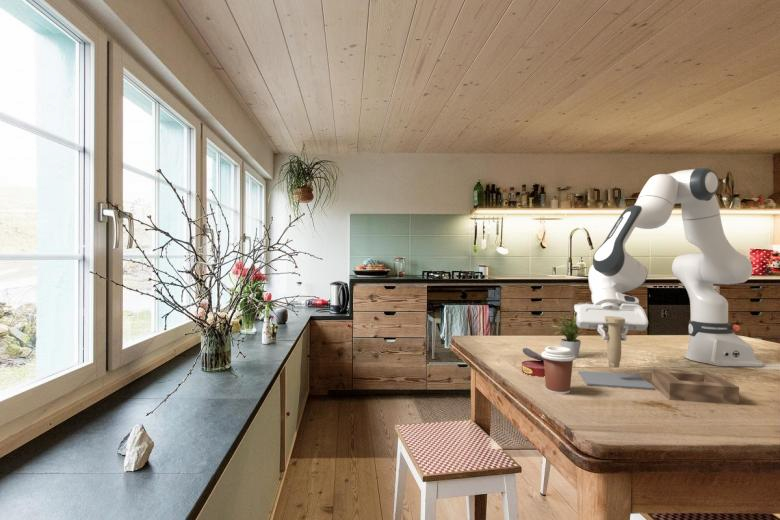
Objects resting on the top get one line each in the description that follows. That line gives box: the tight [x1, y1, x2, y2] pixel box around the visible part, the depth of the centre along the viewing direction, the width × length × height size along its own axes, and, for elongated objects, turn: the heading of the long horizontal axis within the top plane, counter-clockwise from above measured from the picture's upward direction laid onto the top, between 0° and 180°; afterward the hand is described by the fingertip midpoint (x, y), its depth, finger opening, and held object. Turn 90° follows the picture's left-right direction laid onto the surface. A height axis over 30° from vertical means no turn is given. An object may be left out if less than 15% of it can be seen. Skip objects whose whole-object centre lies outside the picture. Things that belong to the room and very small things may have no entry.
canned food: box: [521, 347, 545, 378], centre depth 143 cm, size 11×10×10 cm
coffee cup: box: [540, 345, 576, 395], centre depth 124 cm, size 9×9×12 cm
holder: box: [651, 368, 740, 405], centre depth 122 cm, size 16×14×4 cm
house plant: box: [550, 314, 589, 359], centre depth 166 cm, size 14×14×16 cm
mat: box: [578, 370, 656, 391], centre depth 134 cm, size 18×14×1 cm
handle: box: [605, 316, 625, 369], centre depth 133 cm, size 5×6×15 cm
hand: (614, 339), depth 133 cm, fingers closed on handle, 3 cm apart
